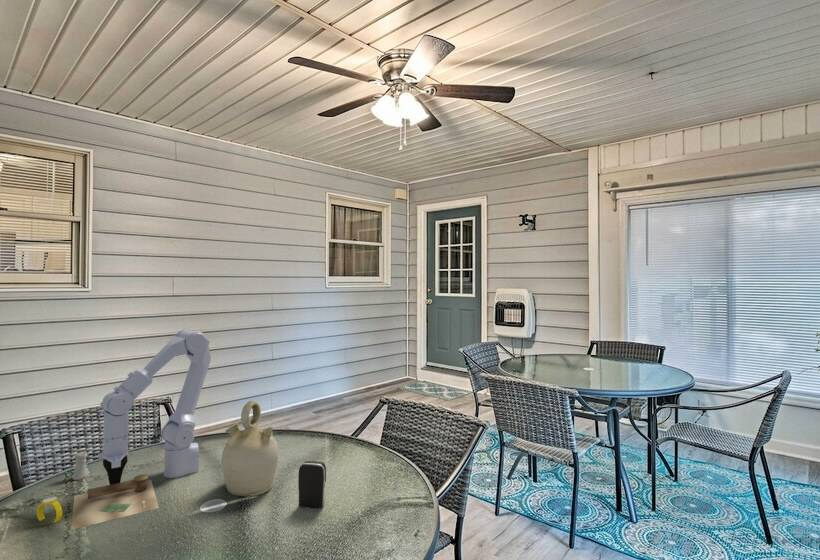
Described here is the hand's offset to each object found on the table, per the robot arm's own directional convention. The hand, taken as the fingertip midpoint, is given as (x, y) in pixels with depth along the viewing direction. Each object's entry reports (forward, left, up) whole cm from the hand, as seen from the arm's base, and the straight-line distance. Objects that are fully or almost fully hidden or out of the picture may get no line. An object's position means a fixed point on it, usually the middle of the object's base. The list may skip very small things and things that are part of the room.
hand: (114, 484), depth 122 cm
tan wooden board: (0, +7, -3) cm, 7 cm away
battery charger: (-43, +36, -3) cm, 56 cm away
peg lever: (-1, +3, -2) cm, 3 cm away
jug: (-32, +17, -3) cm, 36 cm away
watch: (+13, +9, -3) cm, 16 cm away
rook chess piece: (+8, -16, -3) cm, 18 cm away
